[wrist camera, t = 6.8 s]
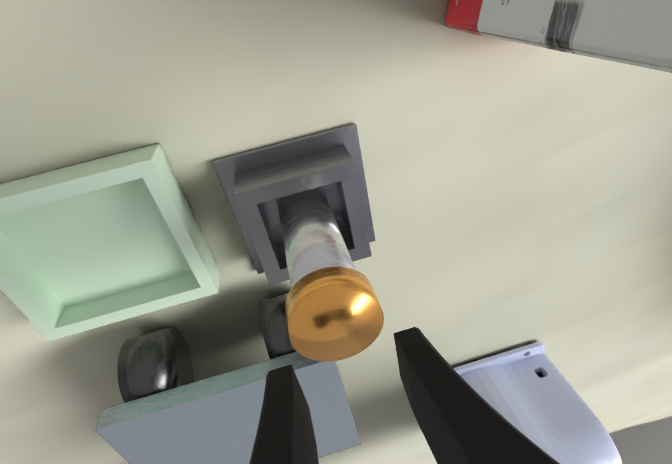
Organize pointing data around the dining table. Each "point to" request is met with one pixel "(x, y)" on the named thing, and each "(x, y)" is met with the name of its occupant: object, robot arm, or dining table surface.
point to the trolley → (215, 400)
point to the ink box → (576, 26)
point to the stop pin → (324, 283)
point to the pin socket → (292, 177)
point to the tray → (101, 243)
